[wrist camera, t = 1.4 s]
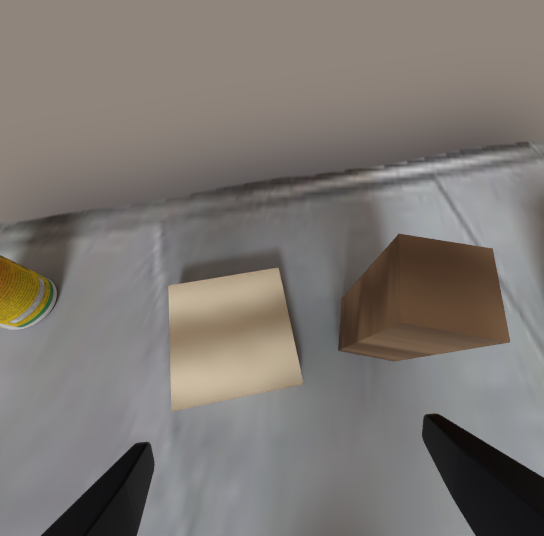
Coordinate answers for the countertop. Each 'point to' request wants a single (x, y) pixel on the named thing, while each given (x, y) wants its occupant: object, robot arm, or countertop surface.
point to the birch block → (230, 339)
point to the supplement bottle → (23, 295)
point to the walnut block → (424, 301)
